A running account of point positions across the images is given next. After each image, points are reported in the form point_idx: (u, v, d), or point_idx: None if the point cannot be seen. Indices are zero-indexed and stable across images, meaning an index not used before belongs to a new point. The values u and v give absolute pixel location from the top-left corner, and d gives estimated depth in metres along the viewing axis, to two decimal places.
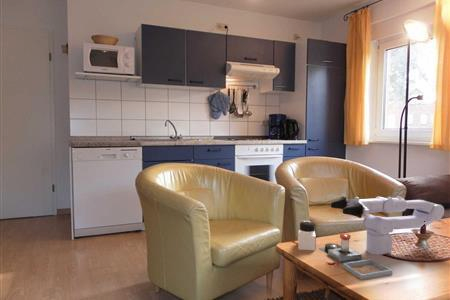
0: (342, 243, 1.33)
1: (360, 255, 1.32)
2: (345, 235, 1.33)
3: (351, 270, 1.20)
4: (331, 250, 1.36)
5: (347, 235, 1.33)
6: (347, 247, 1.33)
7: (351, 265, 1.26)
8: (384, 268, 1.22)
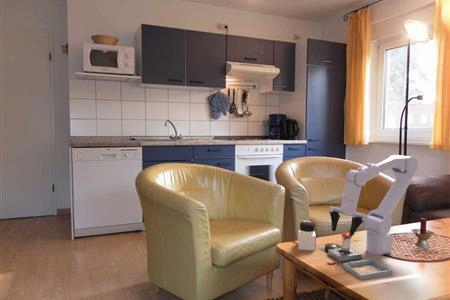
0: (343, 241, 1.34)
1: (360, 255, 1.32)
2: (347, 234, 1.34)
3: (351, 270, 1.20)
4: (331, 250, 1.36)
5: (349, 234, 1.34)
6: (348, 246, 1.33)
7: (351, 265, 1.26)
8: (384, 268, 1.22)
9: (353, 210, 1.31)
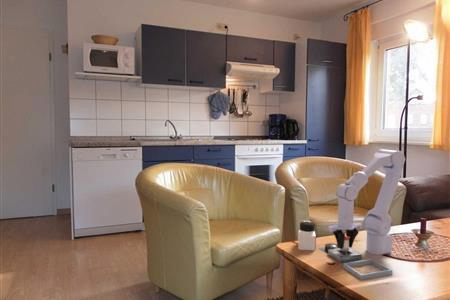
0: None
1: (360, 255, 1.32)
2: (345, 235, 1.33)
3: (351, 270, 1.20)
4: (331, 250, 1.36)
5: (347, 235, 1.33)
6: (347, 247, 1.33)
7: (351, 265, 1.26)
8: (384, 268, 1.22)
9: (351, 225, 1.31)
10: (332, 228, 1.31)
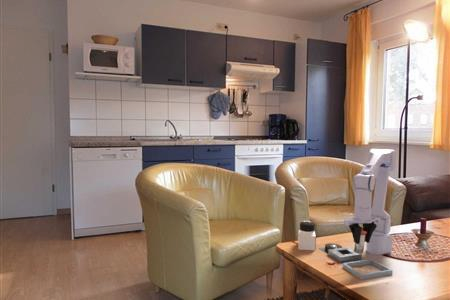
0: None
1: (360, 255, 1.32)
2: (362, 230, 1.24)
3: (351, 270, 1.20)
4: (331, 250, 1.36)
5: (364, 230, 1.24)
6: (363, 242, 1.24)
7: (351, 265, 1.26)
8: (384, 268, 1.22)
9: (369, 218, 1.21)
10: (348, 221, 1.21)
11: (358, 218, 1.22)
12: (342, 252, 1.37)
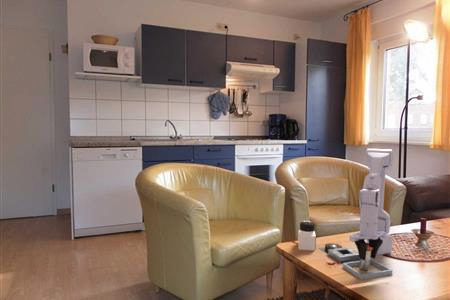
0: None
1: None
2: (368, 245, 1.21)
3: (351, 270, 1.20)
4: (331, 250, 1.36)
5: (370, 246, 1.21)
6: (368, 258, 1.21)
7: (351, 265, 1.26)
8: (384, 268, 1.22)
9: (375, 233, 1.19)
10: (354, 237, 1.18)
11: (364, 234, 1.19)
12: (342, 252, 1.37)
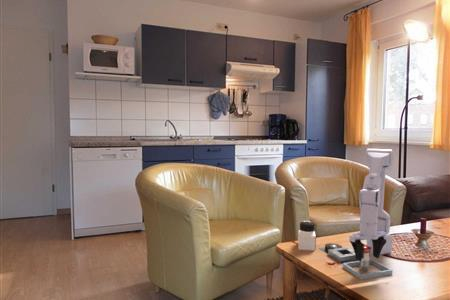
0: (362, 256, 1.21)
1: None
2: (365, 247, 1.21)
3: (351, 270, 1.20)
4: (331, 250, 1.36)
5: (367, 247, 1.21)
6: (367, 260, 1.21)
7: (351, 265, 1.26)
8: (384, 268, 1.22)
9: (375, 234, 1.19)
10: (354, 237, 1.18)
11: (364, 234, 1.19)
12: (342, 252, 1.37)
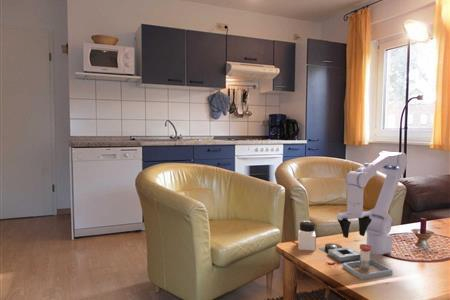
0: (362, 255, 1.22)
1: None
2: (366, 246, 1.23)
3: (351, 270, 1.20)
4: (331, 250, 1.36)
5: (368, 246, 1.23)
6: (368, 259, 1.22)
7: (351, 265, 1.26)
8: (384, 268, 1.22)
9: (361, 212, 1.28)
10: (341, 216, 1.28)
11: (350, 213, 1.29)
12: (342, 252, 1.37)
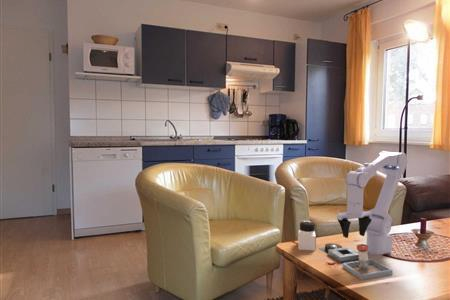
0: (360, 255, 1.22)
1: None
2: (362, 246, 1.22)
3: (351, 270, 1.20)
4: (331, 250, 1.36)
5: (365, 246, 1.22)
6: (366, 259, 1.22)
7: (351, 265, 1.26)
8: (384, 268, 1.22)
9: (361, 212, 1.28)
10: (341, 216, 1.28)
11: (350, 213, 1.29)
12: (342, 252, 1.37)
